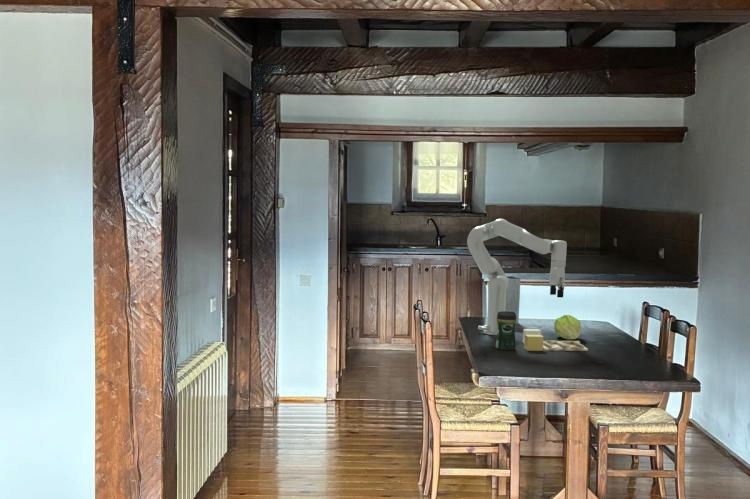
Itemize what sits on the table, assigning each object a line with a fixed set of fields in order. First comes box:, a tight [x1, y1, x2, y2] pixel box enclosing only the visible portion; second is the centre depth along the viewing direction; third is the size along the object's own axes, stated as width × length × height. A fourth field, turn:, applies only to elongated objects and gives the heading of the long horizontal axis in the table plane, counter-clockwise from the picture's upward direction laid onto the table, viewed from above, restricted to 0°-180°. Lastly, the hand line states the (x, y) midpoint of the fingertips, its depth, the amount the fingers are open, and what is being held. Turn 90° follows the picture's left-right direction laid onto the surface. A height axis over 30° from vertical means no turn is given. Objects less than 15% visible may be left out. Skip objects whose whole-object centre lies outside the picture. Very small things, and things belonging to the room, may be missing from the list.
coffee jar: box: [495, 311, 517, 351], centre depth 374 cm, size 10×8×19 cm
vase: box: [505, 276, 522, 325], centre depth 450 cm, size 10×10×27 cm
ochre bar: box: [523, 334, 545, 352], centre depth 375 cm, size 8×4×7 cm, turn 96°
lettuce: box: [553, 314, 582, 341], centre depth 405 cm, size 13×22×14 cm
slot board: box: [543, 340, 589, 352], centre depth 381 cm, size 22×12×2 cm, turn 96°
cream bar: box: [522, 328, 542, 345], centre depth 391 cm, size 8×4×7 cm, turn 96°
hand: (556, 296), depth 404 cm, fingers open, 9 cm apart
